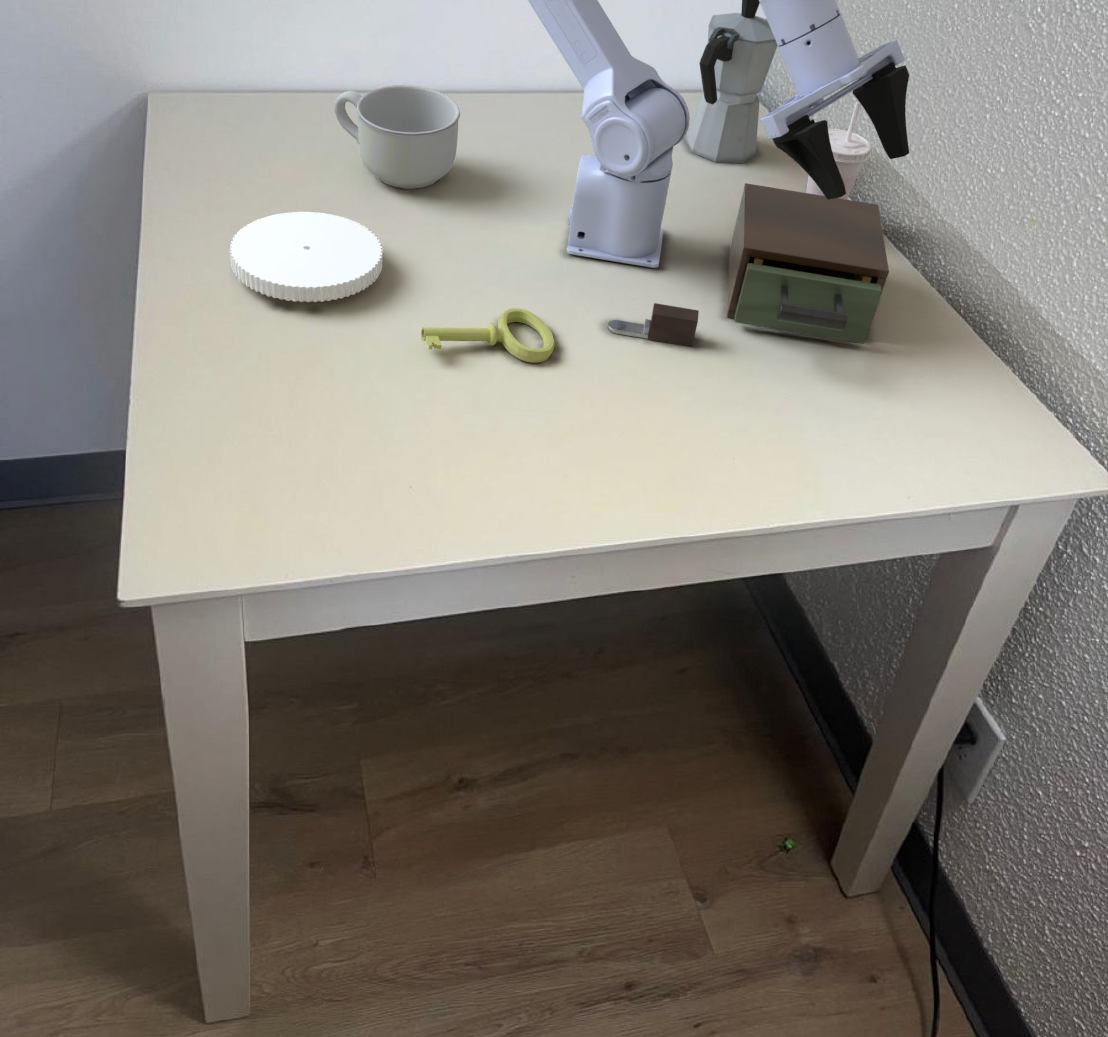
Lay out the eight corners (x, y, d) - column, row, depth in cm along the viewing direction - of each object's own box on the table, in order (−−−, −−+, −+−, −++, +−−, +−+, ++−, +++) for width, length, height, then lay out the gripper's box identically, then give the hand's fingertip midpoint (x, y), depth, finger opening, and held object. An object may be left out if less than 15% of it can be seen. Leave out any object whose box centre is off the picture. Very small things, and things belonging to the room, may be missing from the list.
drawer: (867, 373, 107) (886, 319, 103) (733, 351, 107) (747, 296, 103) (855, 277, 120) (872, 226, 116) (736, 258, 120) (748, 206, 116)
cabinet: (865, 340, 113) (889, 271, 108) (726, 317, 113) (743, 247, 108) (857, 270, 123) (878, 204, 118) (729, 249, 123) (745, 182, 118)
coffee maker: (715, 120, 148) (746, -29, 136) (775, 144, 145) (813, -7, 133) (652, 155, 138) (679, -2, 126) (716, 182, 135) (750, 23, 123)
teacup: (475, 176, 130) (480, 106, 124) (415, 210, 122) (417, 137, 117) (376, 136, 134) (377, 67, 129) (313, 167, 127) (310, 95, 122)
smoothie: (846, 242, 127) (884, 118, 118) (788, 231, 128) (821, 107, 119) (847, 216, 132) (884, 95, 123) (791, 205, 133) (823, 84, 123)
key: (413, 347, 104) (414, 326, 102) (526, 314, 110) (529, 295, 108) (456, 390, 100) (457, 369, 98) (571, 354, 106) (574, 334, 104)
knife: (693, 335, 110) (698, 310, 108) (692, 347, 109) (697, 321, 107) (608, 321, 110) (612, 295, 109) (606, 332, 109) (610, 307, 107)
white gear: (221, 240, 114) (219, 216, 112) (363, 229, 118) (363, 207, 117) (244, 318, 104) (242, 294, 103) (397, 304, 109) (398, 280, 107)
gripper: (770, 58, 95) (834, 211, 99) (901, -19, 98) (957, 131, 103) (726, 75, 101) (788, 218, 106) (850, 2, 105) (905, 143, 109)
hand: (868, 176), depth 105 cm, fingers open, 7 cm apart
